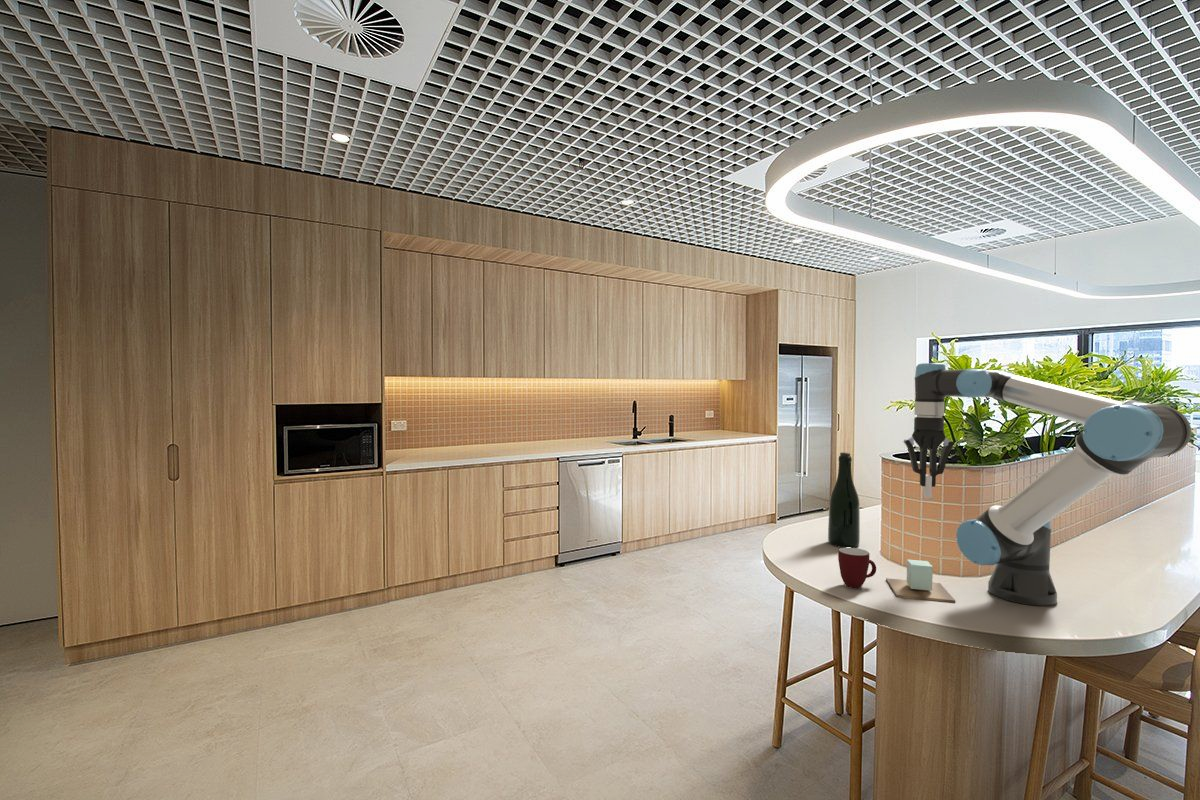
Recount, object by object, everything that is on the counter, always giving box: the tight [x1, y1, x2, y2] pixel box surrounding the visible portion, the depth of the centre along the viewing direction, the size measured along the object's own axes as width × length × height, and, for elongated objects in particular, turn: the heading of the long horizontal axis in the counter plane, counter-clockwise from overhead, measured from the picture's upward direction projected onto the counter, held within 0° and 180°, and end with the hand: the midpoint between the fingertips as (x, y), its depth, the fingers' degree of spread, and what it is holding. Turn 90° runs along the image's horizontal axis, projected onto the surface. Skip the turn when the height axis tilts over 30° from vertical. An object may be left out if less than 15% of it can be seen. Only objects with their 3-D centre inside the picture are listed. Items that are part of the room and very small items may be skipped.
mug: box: [837, 547, 877, 590], centre depth 164 cm, size 11×8×10 cm
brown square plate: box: [885, 577, 956, 604], centre depth 161 cm, size 14×14×7 cm
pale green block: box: [906, 559, 934, 591], centre depth 161 cm, size 5×5×7 cm
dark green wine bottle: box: [827, 451, 861, 548], centre depth 208 cm, size 10×10×33 cm
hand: (927, 497), depth 169 cm, fingers closed
